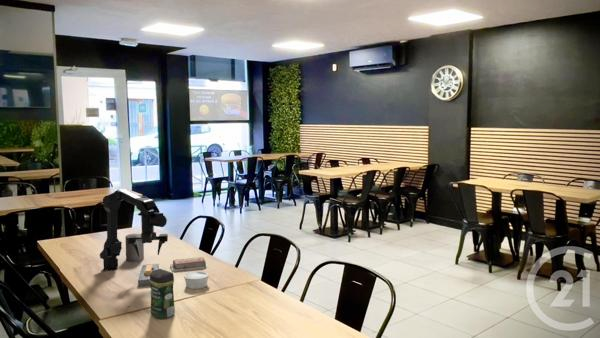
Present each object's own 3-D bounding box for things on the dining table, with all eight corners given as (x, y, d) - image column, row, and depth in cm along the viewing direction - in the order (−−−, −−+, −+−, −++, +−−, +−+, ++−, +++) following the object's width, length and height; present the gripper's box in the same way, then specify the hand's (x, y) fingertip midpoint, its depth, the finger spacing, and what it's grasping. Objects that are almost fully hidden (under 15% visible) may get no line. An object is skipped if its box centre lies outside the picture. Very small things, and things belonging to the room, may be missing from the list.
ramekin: (212, 283, 225) (212, 272, 224) (200, 291, 214) (200, 280, 214) (192, 280, 229) (192, 270, 228) (179, 288, 218) (179, 277, 218)
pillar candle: (122, 260, 260) (121, 234, 258) (134, 255, 269) (133, 230, 267) (135, 263, 256) (135, 236, 254) (147, 258, 265) (147, 232, 263)
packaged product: (203, 255, 256) (206, 260, 247) (203, 263, 257) (206, 269, 247) (169, 258, 250) (171, 263, 241) (170, 267, 250) (171, 272, 241)
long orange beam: (145, 281, 227) (145, 271, 227) (147, 274, 237) (146, 264, 237) (150, 280, 228) (150, 270, 227) (152, 274, 238) (152, 264, 237)
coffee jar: (147, 315, 188) (145, 270, 186) (164, 308, 194) (163, 265, 192) (161, 321, 182) (159, 275, 180) (178, 315, 188) (177, 270, 186)
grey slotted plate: (155, 285, 222) (155, 279, 222) (138, 286, 220) (138, 280, 220) (158, 269, 245) (158, 263, 245) (142, 270, 243) (142, 264, 243)
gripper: (125, 229, 220) (126, 261, 221) (166, 227, 224) (167, 259, 226) (128, 224, 230) (129, 255, 232) (167, 222, 235) (168, 252, 236)
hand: (148, 255), depth 231 cm, fingers open, 9 cm apart
